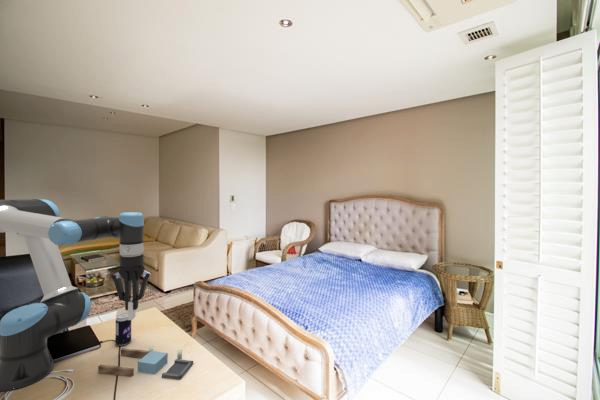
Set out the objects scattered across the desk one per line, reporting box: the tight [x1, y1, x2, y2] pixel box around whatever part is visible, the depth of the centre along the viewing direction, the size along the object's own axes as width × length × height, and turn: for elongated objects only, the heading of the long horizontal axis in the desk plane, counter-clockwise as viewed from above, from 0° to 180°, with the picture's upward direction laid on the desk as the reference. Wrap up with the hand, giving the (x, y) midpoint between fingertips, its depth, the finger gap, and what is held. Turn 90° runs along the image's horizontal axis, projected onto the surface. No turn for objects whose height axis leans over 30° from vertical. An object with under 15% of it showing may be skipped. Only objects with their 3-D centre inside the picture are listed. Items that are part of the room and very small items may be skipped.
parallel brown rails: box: [97, 347, 150, 378], centre depth 104 cm, size 13×12×2 cm
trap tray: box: [161, 358, 194, 381], centre depth 102 cm, size 7×9×1 cm
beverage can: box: [114, 312, 132, 347], centre depth 118 cm, size 6×6×12 cm
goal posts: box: [148, 346, 183, 360], centre depth 110 cm, size 14×2×3 cm, turn 83°
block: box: [137, 350, 168, 375], centre depth 103 cm, size 7×7×4 cm
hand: (131, 318), depth 102 cm, fingers closed
